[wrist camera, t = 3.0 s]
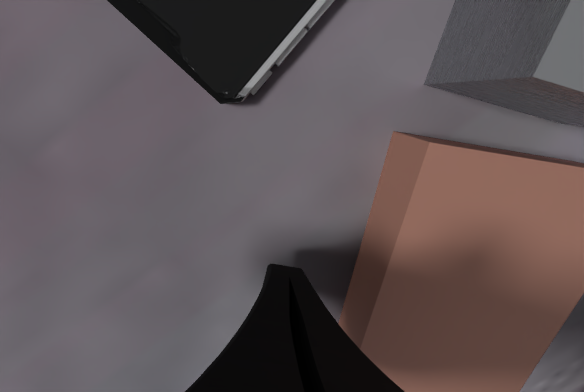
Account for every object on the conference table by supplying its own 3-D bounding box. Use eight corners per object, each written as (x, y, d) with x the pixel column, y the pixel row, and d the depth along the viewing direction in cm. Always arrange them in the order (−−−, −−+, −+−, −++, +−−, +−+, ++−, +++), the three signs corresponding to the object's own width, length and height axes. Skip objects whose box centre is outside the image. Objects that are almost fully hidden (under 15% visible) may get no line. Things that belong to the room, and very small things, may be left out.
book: (448, 384, 16) (484, 445, 13) (319, 377, 15) (329, 440, 13) (564, 159, 12) (657, 180, 9) (388, 129, 11) (429, 142, 8)
